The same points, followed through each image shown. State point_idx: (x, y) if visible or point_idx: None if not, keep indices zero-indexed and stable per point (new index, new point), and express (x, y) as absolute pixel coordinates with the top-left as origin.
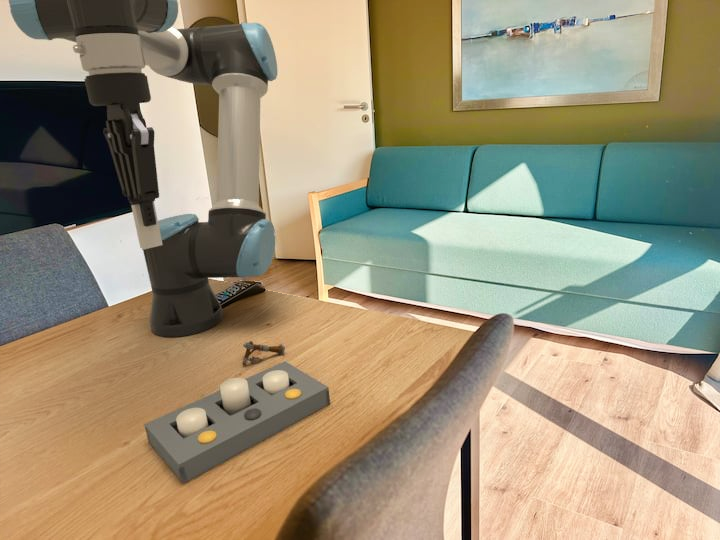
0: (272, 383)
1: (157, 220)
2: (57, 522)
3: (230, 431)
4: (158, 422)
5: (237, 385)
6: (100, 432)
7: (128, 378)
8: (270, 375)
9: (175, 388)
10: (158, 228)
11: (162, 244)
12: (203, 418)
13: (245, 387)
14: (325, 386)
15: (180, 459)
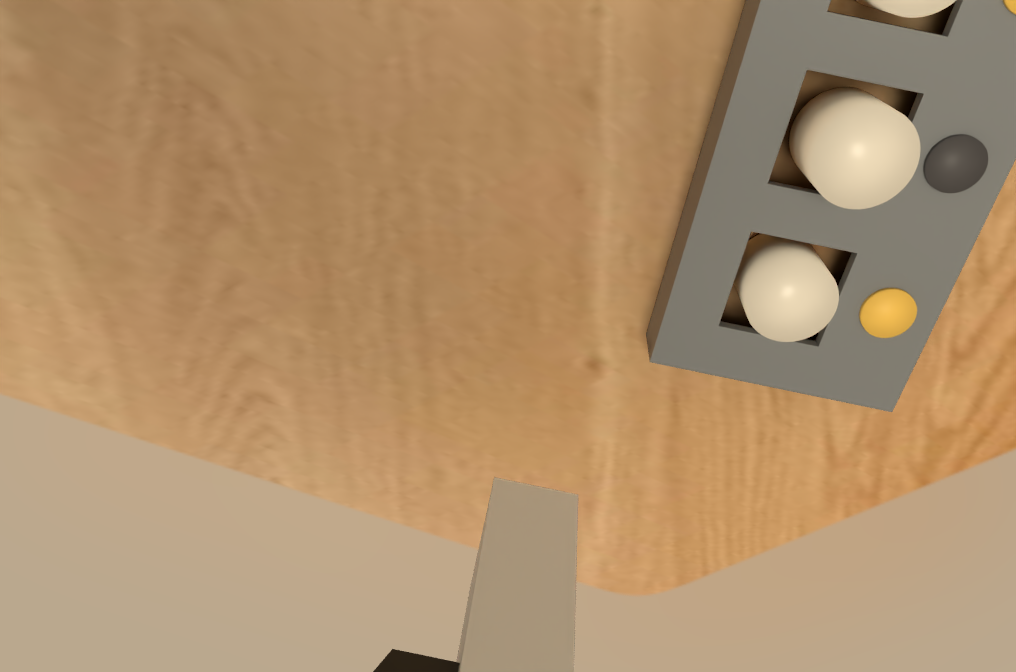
0: (945, 7)
1: (571, 669)
2: (704, 553)
3: (935, 257)
4: (681, 337)
5: (882, 153)
6: (484, 374)
7: (252, 174)
8: None
9: (460, 122)
10: (573, 609)
11: (576, 496)
12: (837, 287)
13: (918, 142)
14: None
15: (879, 398)
